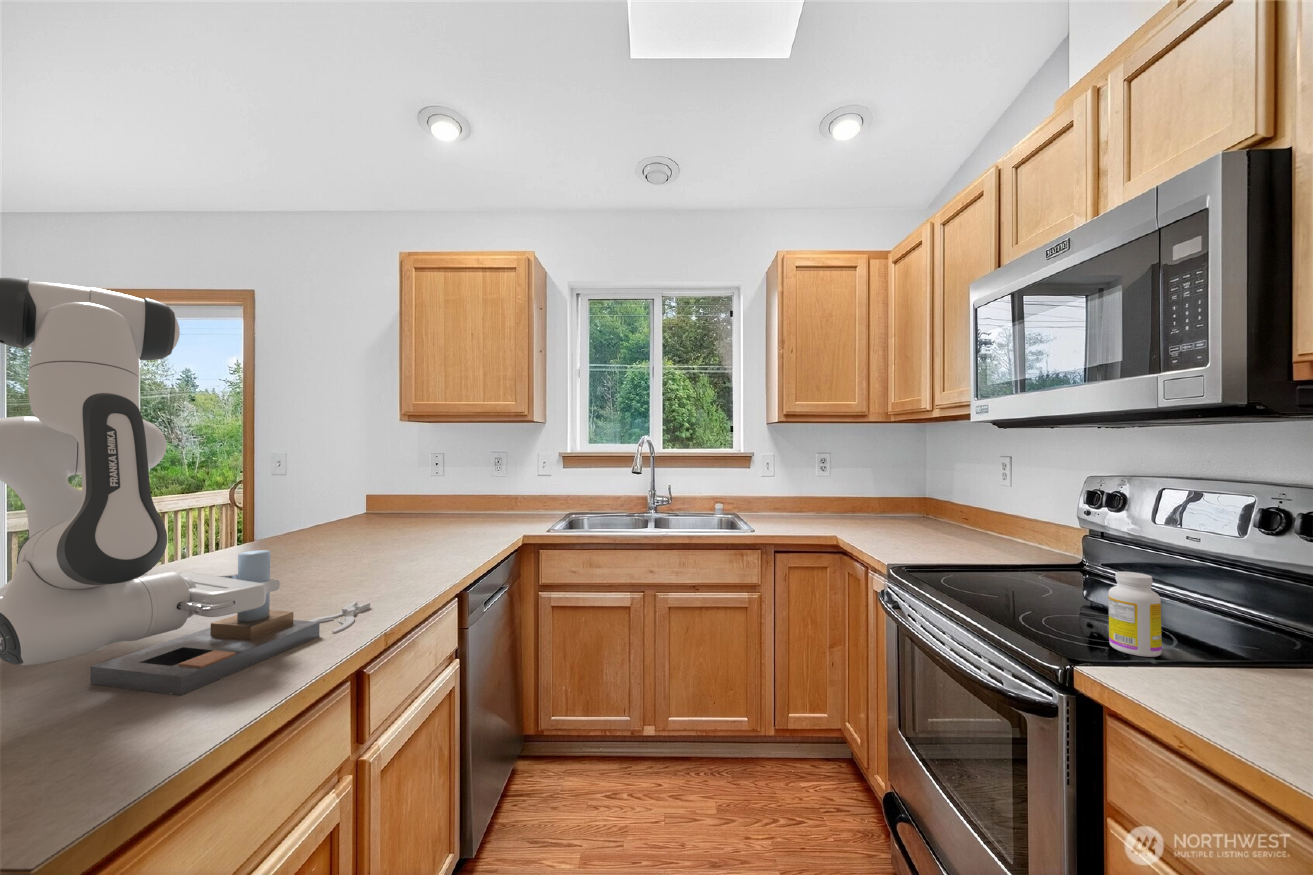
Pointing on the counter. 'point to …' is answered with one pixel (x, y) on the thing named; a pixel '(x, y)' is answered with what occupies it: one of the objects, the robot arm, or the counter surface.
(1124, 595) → the supplement bottle
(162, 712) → the counter surface
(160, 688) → the rack
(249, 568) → the peg
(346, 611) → the pliers
